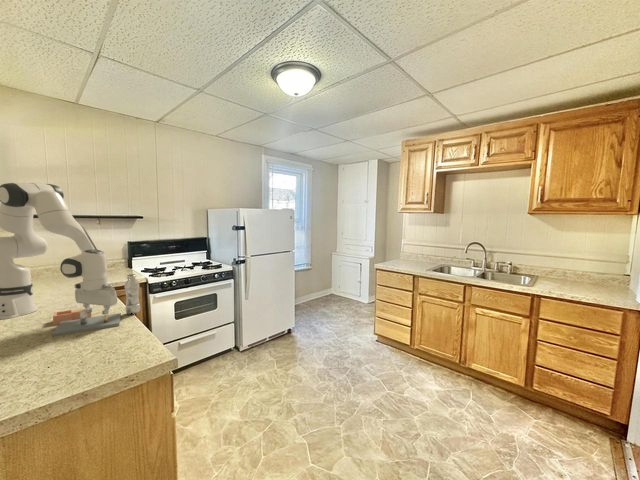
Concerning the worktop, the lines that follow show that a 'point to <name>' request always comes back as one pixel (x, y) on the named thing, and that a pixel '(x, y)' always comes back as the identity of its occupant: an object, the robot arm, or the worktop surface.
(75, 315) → the orange hollow block
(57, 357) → the worktop surface
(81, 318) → the post
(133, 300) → the plastic bottle
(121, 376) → the worktop surface
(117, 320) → the board
